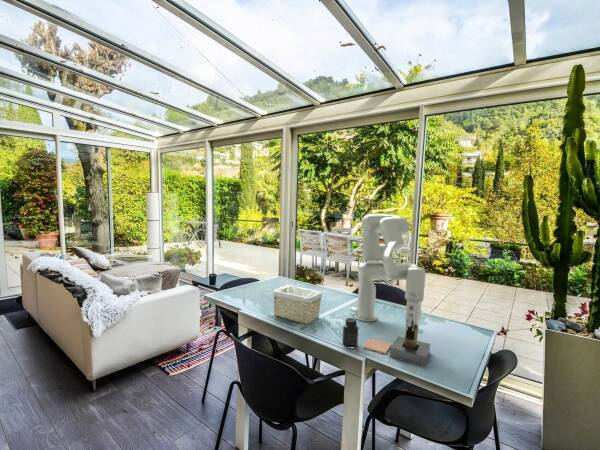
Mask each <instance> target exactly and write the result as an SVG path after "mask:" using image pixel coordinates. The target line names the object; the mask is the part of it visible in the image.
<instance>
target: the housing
mask: <svg viewBox="0 0 600 450" xmlns="http://www.w3.org/2000/svg"><path fill="white" fill-rule="evenodd" d="M404 343H405V336H404V337H403V336H400V335H397V336H396V338H395V340H394V341H393V343H391V347H390V349H389V357H390V356H391V357H390V358H392V357H394V358H393V359H396V358H398V359H397V360H399V359H402V360H401V361H403V360H405V361H404V362H407V361H408V362H407V363H410V362H412V363H411V364H414V363H416V364H415V365H417V364H419V365H418V366H421V365H423V366H422V367H424V366H425V367H426V365H427V362H428V359H429V356H430V353H431V352H430V351H431V343H427V342H423V341H420V340H417V348H416V350H413V349H409V348H405V347H404Z"/></svg>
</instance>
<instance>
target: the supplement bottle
mask: <svg viewBox="0 0 600 450" xmlns="http://www.w3.org/2000/svg"><path fill="white" fill-rule="evenodd" d="M357 320H358V319H356V318H355V317H353V318H352V317H347V318H346V319H345V324H344V325H343V326H342V343H341V344H342V346H343V345H344V346H346V347H356V348H357V347H358V345H359V343H358V341H359V326H358V325H357ZM344 346H343V347H344ZM346 347H345V348H346Z"/></svg>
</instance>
